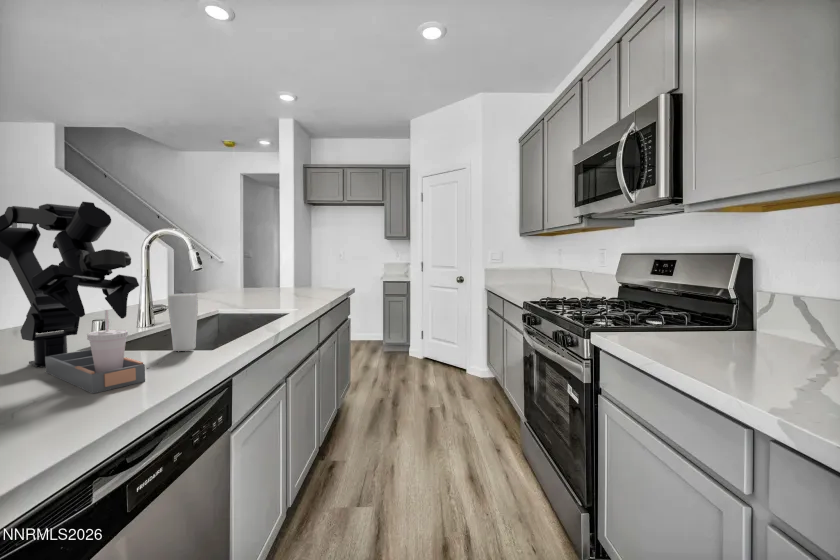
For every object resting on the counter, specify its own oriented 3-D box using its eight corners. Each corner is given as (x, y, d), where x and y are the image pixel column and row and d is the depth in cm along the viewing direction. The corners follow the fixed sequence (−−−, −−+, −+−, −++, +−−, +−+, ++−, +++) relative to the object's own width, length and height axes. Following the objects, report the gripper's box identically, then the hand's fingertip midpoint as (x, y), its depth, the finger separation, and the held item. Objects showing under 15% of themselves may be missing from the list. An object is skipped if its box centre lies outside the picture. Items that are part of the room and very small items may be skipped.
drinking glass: (185, 353, 103) (184, 296, 102) (163, 352, 105) (161, 295, 104) (204, 347, 110) (203, 293, 109) (183, 346, 111) (182, 293, 110)
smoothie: (124, 373, 83) (122, 307, 83) (133, 380, 79) (131, 310, 78) (85, 380, 79) (82, 310, 78) (92, 388, 74) (89, 313, 74)
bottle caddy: (45, 372, 86) (45, 355, 86) (94, 363, 93) (93, 347, 93) (93, 393, 73) (93, 373, 72) (146, 381, 80) (145, 363, 80)
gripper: (63, 223, 76) (91, 292, 73) (144, 244, 95) (169, 300, 92) (18, 254, 77) (44, 323, 74) (107, 268, 96) (131, 325, 93)
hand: (104, 316), depth 83 cm, fingers open, 9 cm apart
